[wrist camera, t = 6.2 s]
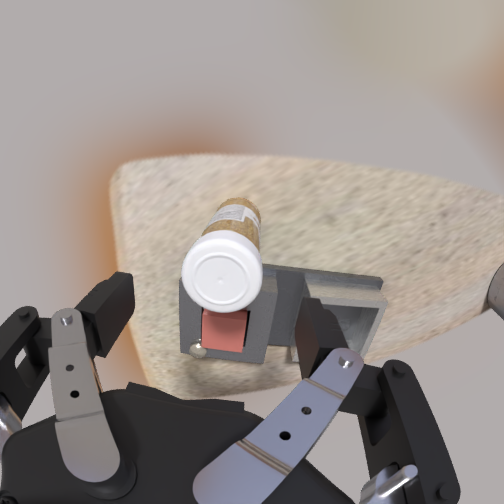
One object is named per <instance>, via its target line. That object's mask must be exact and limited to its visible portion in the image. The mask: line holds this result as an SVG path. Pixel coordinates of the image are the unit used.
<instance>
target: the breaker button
mask: <svg viewBox="0 0 504 504" xmlns="http://www.w3.org/2000/svg"><path fill="white" fill-rule="evenodd" d="M246 321H247V310H243V309H241V310H238V311H234V312H229V313H220V312H214V311H210V310H208V309H205V308H204V311H203V315H202V347H204V348H210V349H217V350H225V351H233V352H241V353H242V349H243V342H244V335H245V328H246Z"/></svg>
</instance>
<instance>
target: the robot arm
mask: <svg viewBox="0 0 504 504" xmlns="http://www.w3.org/2000/svg"><path fill="white" fill-rule="evenodd" d="M488 304H489V306H490V307H491V308H492V309H493V310H494V311H495V312H496V313H497V314H498V315H499V316H500V317H501V318H502V319H503V320H504V264H503V265H502V266H501V267H500V268H499V270H498V271H497V273H496V274H495V276H494V278H493V280H492V283H491V285H490V288H489V293H488ZM134 309H135V296H134V285H133V276H132V274H130V273H124V272H118V271H117V272H115V274H113V275H112V276H111V277H110V278H109V279H108V280H104V281H102V282H100V283H99V284H97V285H96V286H95V287H94V288H93V289H92V291H90V292H89V293H88V295H86V296H85V297H84V298H83V300H81V302H80V303H79V304H78V305H77V306H76V307H75V308H74V309H72V308H65V309H62V310H59V311H57V312H56V313H55V314H54V315H53V317H52V318H39V315H38V312H37V310H36V308H34V307H31V306H25V307H21V308H19V309H17V310H16V311H15V312H14V313H13V314H12V315H11V316H10V317H9V318H8V319H7V320H6V321H5V322H4V323H3V324H2V325H1V326H0V463H1V464H2V480H1V488H0V504H355V503H354V502H353V500H352V499H351V498H349V497H348V496H347V495H346V494H345V493H344V492H342V491H341V490H340V489H339V488H338V487H336V486H335V485H334V484H333V483H331V481H329V480H328V479H327V478H326V477H325V476H324V475H323V474H322V473H321V472H319V471H318V470H317V469H316V468H315V467H314V466H313V465H312V464H311V463H309V461H308V460H306V456H307V455H308V454H309V452H310V451H311V450H312V449H313V447H314V446H315V444H316V443H317V441H318V440H319V439H320V437H321V436H322V434H323V433H324V432H325V430H326V429H327V427H328V426H329V424H330V423H331V422H332V420H333V419H334V417H335V416H336V414H337V412H338V411H342V412H347V413H351V414H356V415H357V416H358V420H359V425H360V430H361V435H362V439H363V444H364V449H365V454H366V459H367V464H368V470H369V475H370V480H369V481H368V482H367V483H366V484H365V485H364V486H363V488H362V490H361V499H360V502H359V504H457V503H458V501H459V499H460V486H459V483H458V480H457V477H456V473H455V470H454V467H453V464H452V461H451V459H450V456H449V453H448V450H447V448H446V445H445V443H444V440H443V437H442V435H441V433H440V430H439V427H438V425H437V423H436V420H435V418H434V415H433V413H432V411H431V409H430V406H429V404H428V402H427V400H426V398H425V395H424V393H423V391H422V389H421V387H420V384H419V382H418V380H417V379H416V376H415V374H414V372H413V370H412V369H411V367H410V366H409V365H408V364H406V363H404V362H402V361H399V360H388V361H387V362H385V364H384V365H383V367H382V368H379V367H375V366H370V365H366V364H364V361H363V359H362V357H361V356H360V355H359V354H358V353H357V352H355V351H353V350H351V349H349V346H348V344H347V342H346V339H345V337H344V334H343V332H342V331H341V327H340V325H339V322H338V320H337V317H336V316H335V315H334V314H333V313H332V312H331V311H330V310H328V309H324V308H323V306H322V303H321V300H320V299H319V298H311V297H303V299H302V301H301V305H300V309H299V313H298V317H297V321H296V325H295V342H296V347H297V353H298V359H299V365H300V370H301V376H302V381H301V382H300V383H299V384H298V385H297V386H296V387H295V389H294V390H293V391H292V392H291V393H290V394H289V395H288V396H287V397H286V398H285V399H284V400H283V401H282V402H281V403H280V404H279V405H278V406H277V408H276V409H274V410H273V411H272V412H271V413H270V414H269V416H267V417H266V419H263V418H261V417H259V416H257V415H255V414H253V413H251V412H248V411H245V410H244V402H238V401H228V400H219V399H201V400H182V399H179V398H177V397H174V396H172V395H170V394H167V393H165V392H163V391H161V390H158V389H156V388H153V387H148V386H144V385H140V384H136V383H132V382H129V383H128V385H127V387H126V389H116V390H110V391H106V392H103V389H102V386H101V383H100V380H99V376H98V373H97V369H96V366H95V362H94V358H95V356H96V355H97V356H100V357H104V358H106V356H107V354H108V353H109V351H110V349H111V348H112V346H113V344H114V343H115V341H116V340H117V338H118V336H119V335H120V333H121V332H122V330H123V329H124V327H125V325H126V324H127V322H128V321H129V319H130V318H131V316H132V315H133V312H134ZM22 348H24V350H25V353H26V356H25V358H24V359H23V360H22V362H21V363H20V365H19V366H18V367H17V369H16V367H15V358H16V356H17V355H18V353H19V352H20V351H21V350H22ZM49 373H50V378H51V386H52V394H53V401H54V407H55V413H56V414H55V415H53V416H51V417H49V418H46V419H44V420H42V421H40V422H37V423H35V424H33V425H31V426H28V427H26V428H23V429H22V423H21V422H22V419H23V418H24V416H25V414H26V412H27V410H28V409H29V406H30V405H31V403H32V401H33V400H34V398H35V396H36V394H37V392H38V391H39V389H40V387H41V386H42V384H43V382H44V381H45V379H46V377H47V376H48V374H49Z"/></svg>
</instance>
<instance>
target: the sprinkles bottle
mask: <svg viewBox="0 0 504 504" xmlns="http://www.w3.org/2000/svg"><path fill="white" fill-rule="evenodd" d="M260 222H261V218H260V214H259V211H258V209H257V207H256V206H255V205H254V204H253V203H252V202H250V201H249V200H246V199H244V198H239V197H238V198H231V199H228V200H227V201H225V202H223V203H222V204H221V206H220V207H219V208H218V210H217V212H216V214H215V215H214V216H213V218H212V219H211V221H210V222H209V224H208V225H207V227H206V228H205V230H204V232H203V233H202V235H201V237H200V238H199V239H198V240H197V241H196V242H195V243H194V244H193V246H192V247H191V248H190V250H189V252H188V253H187V255H186V257H185V259H184V262H183V265H182V269H181V276H182V282H183V285H184V288H185V290H186V292H187V293H188V295H189V296H190V298H191V299H192V300H193V301H195V302H196V303H197V304H198V305H200V306H201V307H203V308H205V309H208V310H210V311H214V312H220V313H229V312H234V311H238V310H241V309H243V308H245V307H246V306H248V305H249V304H250V303H251V302H252V301H253V300H254V299H255V298H256V297H257V295H258V293H259V291H260V289H261V286H262V279H263V267H262V259H261V256H260V254H259V250H260Z"/></svg>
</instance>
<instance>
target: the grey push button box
mask: <svg viewBox="0 0 504 504" xmlns="http://www.w3.org/2000/svg"><path fill="white" fill-rule="evenodd" d="M185 257H186V256H185ZM262 267H263V279H262V286H261V289H260V291H259V293H258V295H257V297H256V298H255V299H254V300H253V301H252V302H251V303H250V304H249V305H248V306H246V307H245V308H243V310H247V321H246V328H245V335H244V342H243V349H242V353H241V352H233V351H225V350H217V349H210V348H204V347H202V315H203V311H204V308H203V307H201V306H200V305H198V304H197V303H196V302H195V301H193V300H192V299H191V298H190V296H189V295H188V293H187V292H186V290H185V288H184V285H183V282H182V276H181V278H180V280H179V320H180V349H181V353H186V354H191V355H192V356H193V357H196V358H203V357H211V358H218V359H226V360H234V361H242V362H252V363H262V364H263V363H264V358H265V354H266V349H267V344H271V345H283V346H290V348H291V356H292V361H295V362H299V359H298V353H297V347H296V342H295V325H296V321H297V317H298V313H299V309H300V305H301V301H302V299H303V297H311V298H319V299H320V300H321V303H322V306H323V308H324V309H328V310H330V311H331V312H332V313H333V314H334V315H335V316H336V317H337V320H338V322H339V325H340V327H341V331H342V332H343V334H344V337H345V339H346V342H347V344H348V346H349V349H351V350H353V351H355V352H357V353H358V354H359V355H360V356H361V357H362V359H363V360H364V357H365V355H366V353H367V351H368V349H369V347H370V345H371V342H372V340H373V338H374V336H375V333H376V331H377V329H378V326H379V324H380V322H381V319H382V317H383V314H384V312H385V309H386V307H387V304H388V301H387V299H386V298H385V297H384V295H383V294H382V293H381V291H380V290H381V287H382V284H383V280H382V279H381V278H380V277H374V276H364V275H355V274H347V273H338V272H329V271H320V270H312V269H303V268H295V267H286V266H278V265H270V264H262Z"/></svg>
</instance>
